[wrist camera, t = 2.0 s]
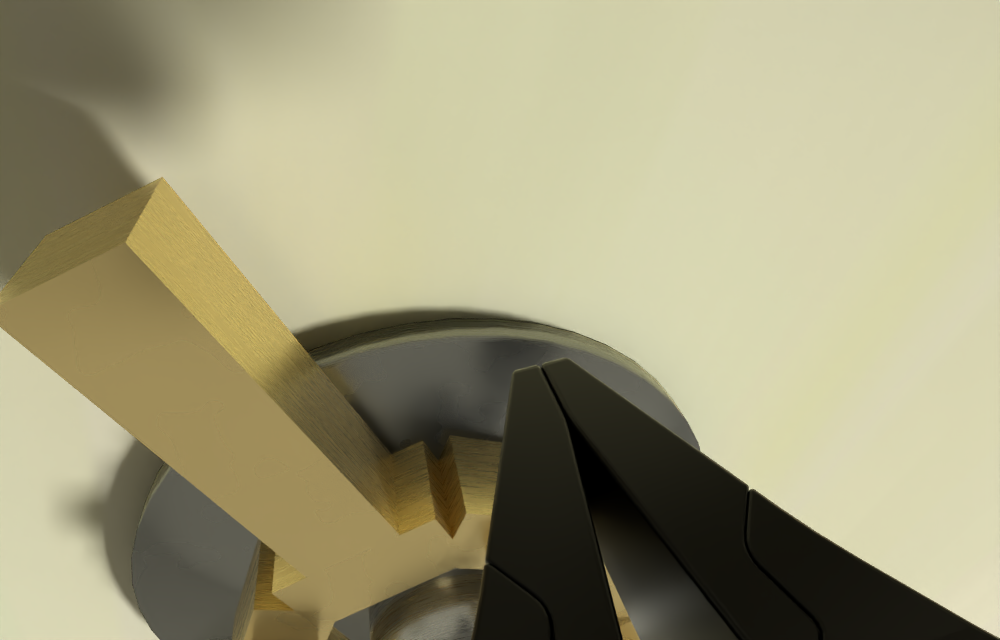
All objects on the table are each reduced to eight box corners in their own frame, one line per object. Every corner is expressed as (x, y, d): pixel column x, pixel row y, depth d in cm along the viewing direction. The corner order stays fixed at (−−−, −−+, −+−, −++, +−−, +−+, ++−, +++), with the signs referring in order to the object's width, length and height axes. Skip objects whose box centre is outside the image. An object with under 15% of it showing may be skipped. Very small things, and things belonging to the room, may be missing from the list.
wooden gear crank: (661, 587, 23) (706, 685, 20) (372, 713, 24) (378, 824, 21) (404, 54, 11) (431, 116, 8) (-180, 349, 11) (-345, 500, 9)
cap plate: (531, 185, 14) (619, 320, 10) (754, 523, 25) (845, 662, 20) (-11, 561, 17) (-128, 794, 13) (394, 721, 28) (406, 880, 23)
